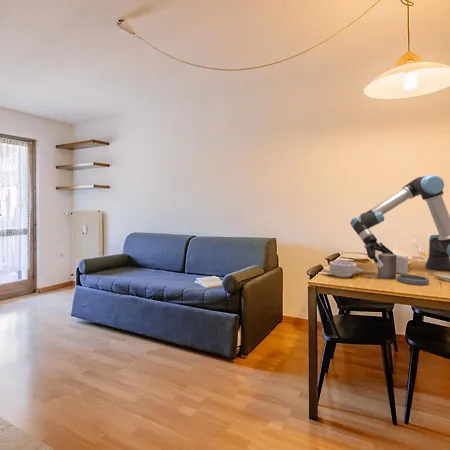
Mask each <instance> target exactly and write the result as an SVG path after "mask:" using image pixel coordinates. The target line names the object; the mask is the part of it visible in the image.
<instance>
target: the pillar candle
mask: <svg viewBox="0 0 450 450" xmlns="http://www.w3.org/2000/svg"><path fill="white" fill-rule="evenodd" d="M377 254H378V255H377V257H378V258H379V260H380V261H381V262H382V264H383V266H382V267H381V268H379V267H378V266H377V277H378V278H382V279H387V280H388V279H390V280H391V279H392V280H393V279H397V273H396V253H393V254H390V253H382V252H381V253H377Z"/></svg>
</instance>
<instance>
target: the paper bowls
mask: <svg viewBox="0 0 450 450" xmlns="http://www.w3.org/2000/svg"><path fill="white" fill-rule="evenodd" d="M329 272H332V274H333V276H335V277H338V278H350V277H352V276H353V275H354V273H355V274H356V272H357V263H356V262H352V261H347V260H332V261H329Z"/></svg>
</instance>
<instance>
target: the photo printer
mask: <svg viewBox="0 0 450 450" xmlns="http://www.w3.org/2000/svg"><path fill="white" fill-rule="evenodd" d="M395 254H396V261H397V262H398V263H399V264H397V265H396V274H399V275H408V267H409V266H408V265H409V264H408V263H409V257H408V255H406V254H403V253H395Z"/></svg>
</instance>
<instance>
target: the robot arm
mask: <svg viewBox="0 0 450 450" xmlns="http://www.w3.org/2000/svg"><path fill="white" fill-rule="evenodd" d="M444 188H445V182H444V180H443V179H442V177H440V176H439V175H436V174H435V175H433V174H429V175H423V176H418V177H416V178H415V179H413V180H411V181H410V182H409V183H407V184H405V185H404V186H402V187H401V190H399V191H397V192H396V193H394V194H393V195H390V197H388V198H387V199H385V200H383V201H381V202H380V203H378V204H376V205H375V206H373V207H372V208H371V209H369V210H367V211H366V212H363V213H361V214H359V216H357V217H354V218H352V219H351V221H350V222H349V223H350V225H351V227H352V229H353V230H354V232H355V233H356V234H357V235H358V237H359V238H360V239H361V241H362V242H363V244H364V248H365V250H366V254H367V256H368V258H369V259H370V260H372V261H374V262H375V264H376V266H377V268H378V267H379V268H381V267H382V266H383V264H382V262H381V261H380V260H379V258H378V255H376V252H381V253H390V254H394V252H393V251H391V250H390V249H389V248H388V247H387V246H385V245H384V244H383V243H382V242H379V243H378V239H377V237H376V236H375V235H374V233H373V232H372V230H371V229H370V228H372V227H374V226H375V227H376V226H378V225H379V224H381V223H382V222H384V221H385V214H387V213H388V212H390V211H391V210H393V209H395V208H396V207H398V206H399V205H401V204H403V203H404V202H406V201H407V200H410V199H413V198H415V197H418V196H420V197H421V199H422V200H423V201H425V202H426V204H427V207H428V210H429V212H430V214H431V217H432V219H433V222H434V225H435V227H436V230H437V233H438V234H432V235H430V236H429V245H428V246H429V247H428V258H427V260H426V263H425V265H424V266H425V268H426V269H430V270H432V271H433V270H434V271H442V270H450V214H449V211H448V209H447V206H446V203H445V202H444V198H443V195H444ZM397 264H399V263H398V262H397V261H396V265H397Z"/></svg>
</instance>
